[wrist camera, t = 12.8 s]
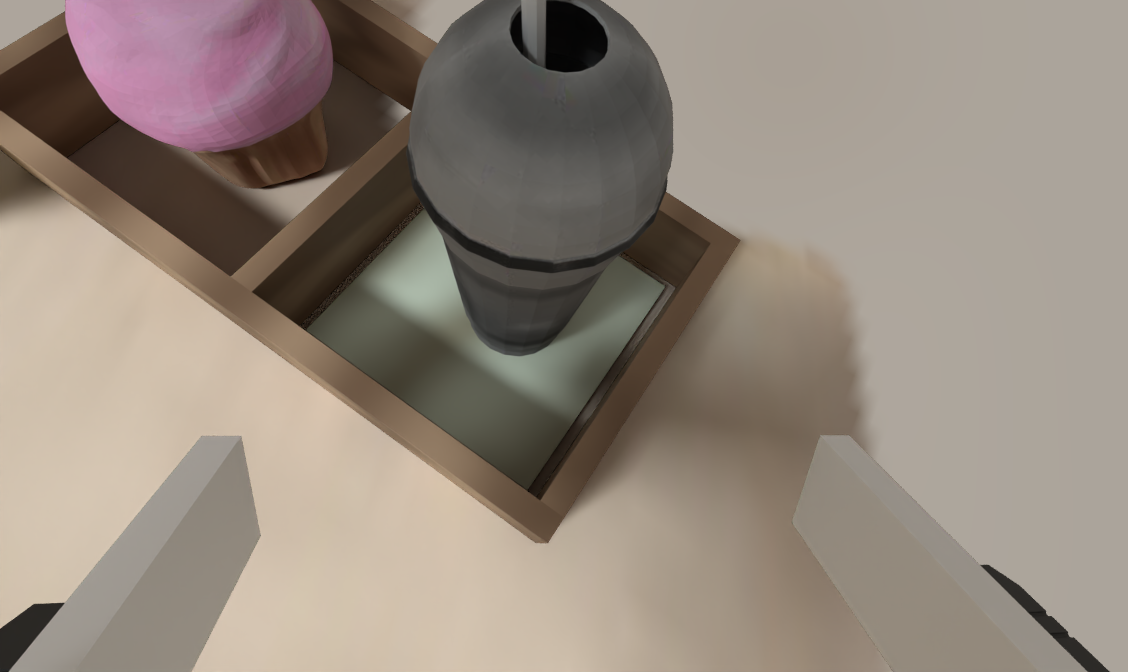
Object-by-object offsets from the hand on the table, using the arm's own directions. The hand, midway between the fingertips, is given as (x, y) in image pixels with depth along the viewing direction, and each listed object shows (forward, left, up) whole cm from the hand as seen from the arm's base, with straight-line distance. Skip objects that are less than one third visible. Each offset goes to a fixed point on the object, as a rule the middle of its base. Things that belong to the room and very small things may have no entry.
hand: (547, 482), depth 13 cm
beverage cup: (-5, +7, -11) cm, 14 cm away
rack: (-13, +7, -11) cm, 19 cm away
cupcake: (-20, +7, -11) cm, 24 cm away
